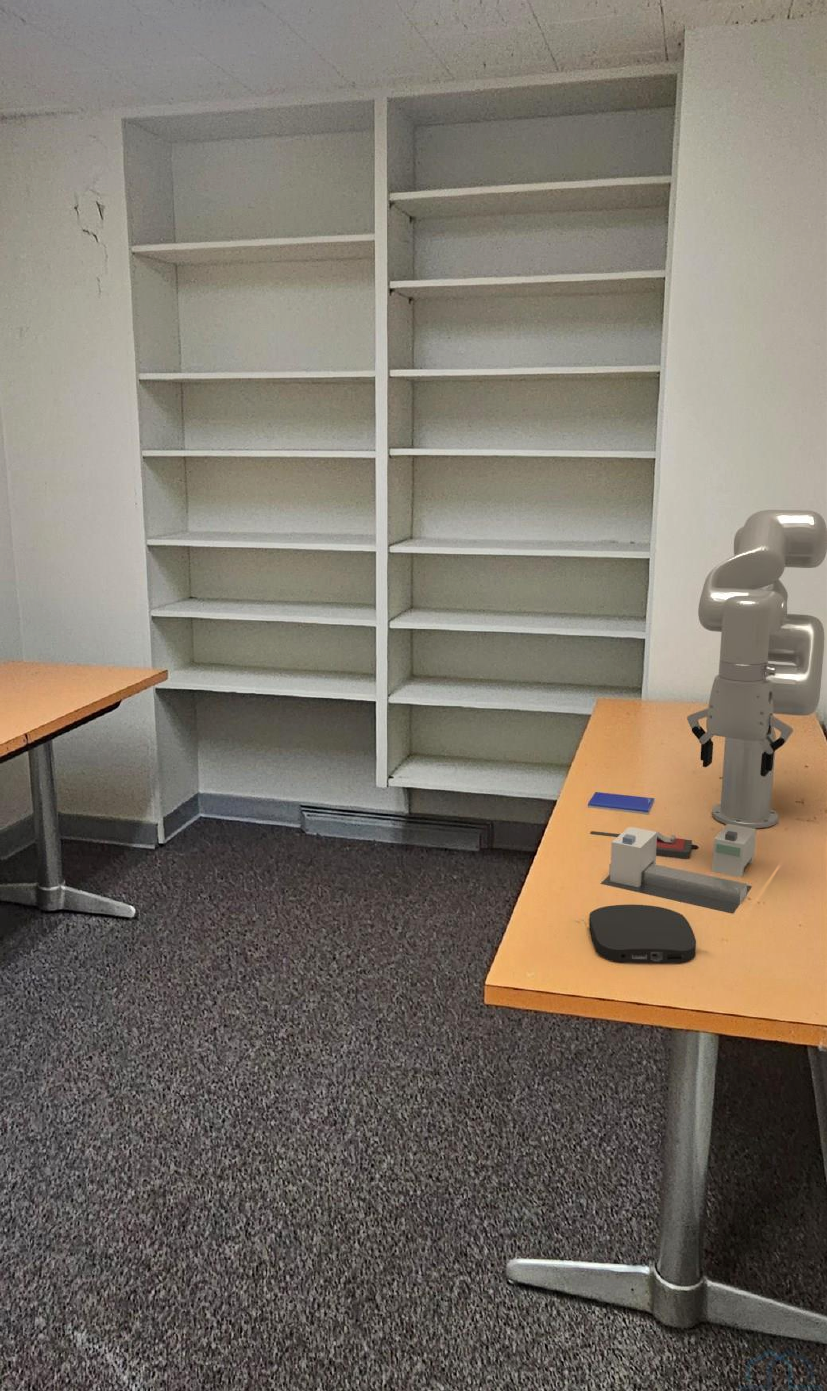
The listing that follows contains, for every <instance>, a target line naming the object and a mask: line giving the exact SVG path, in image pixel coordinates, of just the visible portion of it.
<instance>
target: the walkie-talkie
mask: <svg viewBox="0 0 827 1391" xmlns="http://www.w3.org/2000/svg"><path fill="white" fill-rule="evenodd" d="M653 831H654V830H653ZM654 832H657V845H656V857H663V858H664V857H665V858H673V859H679V860H680V859H681V860H689V859H690V858H691V853H692V850H698V849H699V846H698V845H696V844H693V840H692V839H685V838H676V835H674V834H671V835H670V837H668V836H665V835H664V834H662V833H661V832H660V831H654ZM589 834H590V835H595V836H602V837H603V836H604V837H605V836H606V837H614V838H617V837H618V836H619V835H620V834H621V833H612V832H606V831H605V832H603V831H594V830H591V831H590V833H589Z"/></svg>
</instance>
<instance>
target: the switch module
mask: <svg viewBox="0 0 827 1391" xmlns="http://www.w3.org/2000/svg"><path fill="white" fill-rule="evenodd" d="M756 835H757V828H748V827H742V826H737V825H731V824H725V826H724V827H723V828H722V829H721V830H720V832H718V834H717V835H715V837H714V838H713V850H712V864H711V872H714V873H717V874H723V875H727V876H732V877H737V878H742V877H743V876H744V870H745V867H746V866H747V865H748V863H749V864H753V863H754V862H755V861H754V860H755V847H756Z"/></svg>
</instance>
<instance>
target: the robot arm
mask: <svg viewBox="0 0 827 1391" xmlns="http://www.w3.org/2000/svg"><path fill="white" fill-rule="evenodd" d="M826 555H827V525H826V521H825V519H824V517H823V516H822V515H821V514H820V513H818V512H817V511H815V510H814V511H813V510H802V509H801V510H798V509H795V510H794V509H793V510H791V509H790V510H788V509H787V510H786V509H767V510H766V509H765V510H760V511H757V512H755V513H753V514H751V515H750V516H749V517H748V518H747V519H746V521H745V523H744V525H743V526H742V527H740V528H739V529H738V530H737V531H736V532H735V534H734V539H733V556H731V557H729V558H727V559H726V560H724V561H722V562H721V563H719V564H717V565H716V566H715V567H713V569H712V570H710V572H709V573H708V575H707V576H706V578H705V579H704V580H705V581H704V583H703V587H702V591H701V594H700V598H699V601H698V602H699V603H698V608H697V609H698V610H697V614H698V621H699V623H700V625H701V627H703V629H705V630H708V631H710V632H717V633H720V646H719V647H720V651H719V665H718V674H717V675H716V676H715V677H714V679H713V683H712V686H711V690H710V694H709V701H708V707H707V708H704V709H701V710H699V711H696V712H692V713H691V714H688V716H687V717H686V720H687V723H688V724H689V727H690V728H691V732H692V734H693V735H694V737H696V738H697V740H698V742H699V744H700V761H702V767H703V768H708V767H709V766H710V765H711V764H712V763H713V755H714V754H713V753H714V752H713V751H714V741H713V740H712V738H713V737H714V736H718V737H724V750H723V751H724V752H723V765H722V779H721V780H722V781H721V791H720V792H721V793H720V803H719V804H716V805H715V806H713V807H712V809H711V815H712V816H711V817H713V818H714V819H715V820H716V821H718V822H720V823H722V824H725V825H727V824H731V825H737V826H742V827H748V828H753V829H764V828H769V827H773V826H775V825H777V823H778V822H779V813H777V812H776V811H775V810H774V809H771V807H772V796H773V794H772V793H773V784H774V783H773V782H774V771H775V759H776V758H775V757H776V751H777V750H778V749H780V748H781V747H783V746H784V745H785V743H786V742H787V741H788V739H789V738H790V736H791V735H792V734H793V732H794V728H793V727H792V726H790V725H788V724H787V723H786V722H783V721H782V720H781V719H779V718H777V717H775V716H774V714H775V715H786V716H787V715H788V716H801V717H802V716H803V717H804V716H810V715H812V714H813V713H814V712H816V710H817V708H818V706H819V702H820V696H821V689H822V676H823V662H824V651H825V629H824V625H823V623H822V621H821V620H820V619H819V618H817V617H816V616H813V615H808V614H798V613H788V596H789V594H788V591H787V589H786V587H785V586H784V584H783V583H782V581H781V580H780V578H781V577H782V576H783V574H784V572H785V568H795V569H796V568H801V569H802V568H803V569H814V568H817V567H819V566H821V564H822V563H823V562H824V560H825V559H826ZM770 662H774V663H770ZM776 662H777V663H788V664H776ZM789 663H790V665H789ZM792 664H794V665H792ZM704 718H706V730H704V729H703V727H702V726H701V725H700V722H699V721H700V720H702V719H704ZM775 729H776V730H777V731H779V732H780V736H779V737H778V738H777V734H776V731H775Z"/></svg>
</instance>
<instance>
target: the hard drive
mask: <svg viewBox="0 0 827 1391" xmlns="http://www.w3.org/2000/svg"><path fill="white" fill-rule="evenodd" d="M654 804H655V798H654V797H653V798H652V797H645V796H637V795H628V794H627V795H626V794H620V793H619V794H617V793H609V792H602V791H601V792H599V791H595V792H594V794H593V795H592V797H591V798H590V800H588V803H587V808H591V809H597V810H607V811H615V812H624V813H632V814H640V815H649V814H650V812H651V811H652V808H653V806H654Z"/></svg>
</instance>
